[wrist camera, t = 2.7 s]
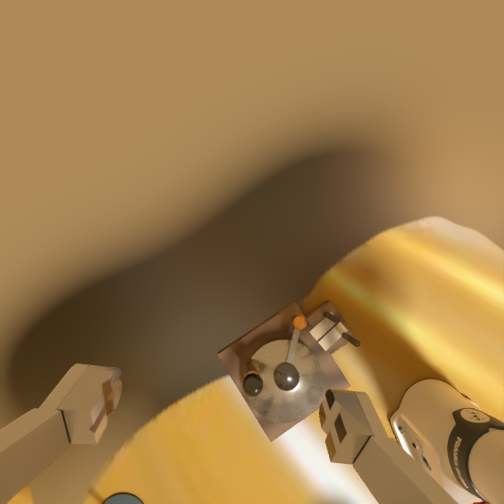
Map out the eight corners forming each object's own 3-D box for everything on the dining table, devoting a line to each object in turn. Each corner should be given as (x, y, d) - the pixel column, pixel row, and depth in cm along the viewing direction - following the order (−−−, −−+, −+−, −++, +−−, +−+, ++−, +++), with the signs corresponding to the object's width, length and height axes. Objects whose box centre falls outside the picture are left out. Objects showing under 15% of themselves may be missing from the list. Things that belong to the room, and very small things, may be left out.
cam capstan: (334, 321, 50) (359, 335, 39) (312, 427, 48) (331, 473, 37) (258, 301, 50) (260, 310, 39) (232, 406, 48) (227, 446, 37)
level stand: (370, 364, 51) (393, 381, 43) (270, 435, 50) (274, 466, 42) (318, 285, 53) (330, 287, 45) (218, 351, 51) (213, 366, 43)
